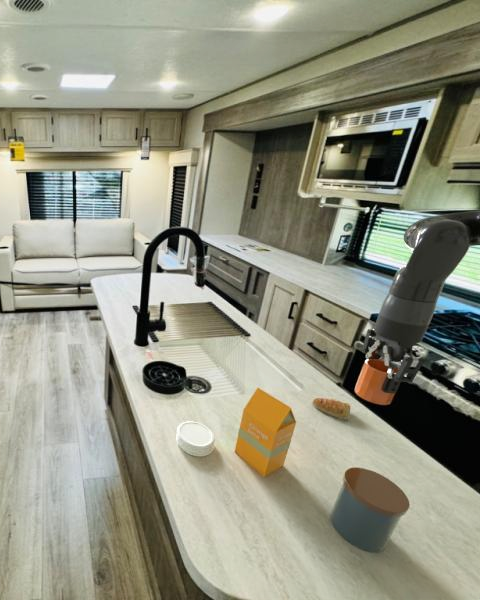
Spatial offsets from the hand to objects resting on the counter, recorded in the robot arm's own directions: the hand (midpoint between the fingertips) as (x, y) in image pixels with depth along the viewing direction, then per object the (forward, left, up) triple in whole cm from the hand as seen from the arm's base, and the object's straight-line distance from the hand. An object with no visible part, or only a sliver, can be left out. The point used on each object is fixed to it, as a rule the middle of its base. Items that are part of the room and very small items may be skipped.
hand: (377, 382), depth 71 cm
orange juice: (+21, +2, -26) cm, 34 cm away
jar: (+6, +17, -26) cm, 32 cm away
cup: (0, 0, -4) cm, 4 cm away
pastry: (-7, -22, -26) cm, 34 cm away
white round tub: (+37, 0, -26) cm, 45 cm away
